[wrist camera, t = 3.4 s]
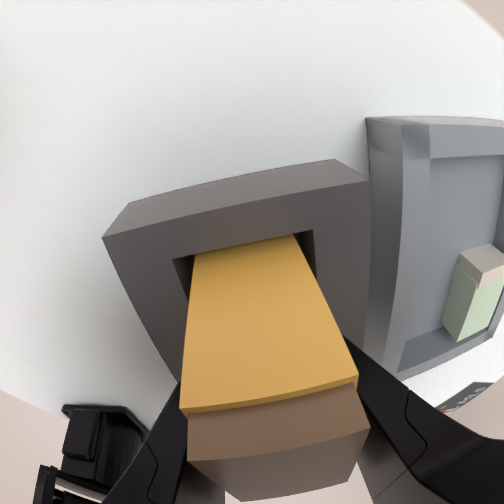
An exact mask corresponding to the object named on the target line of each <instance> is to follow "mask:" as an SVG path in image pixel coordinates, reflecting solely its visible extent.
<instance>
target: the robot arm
mask: <svg viewBox="0 0 504 504" xmlns="http://www.w3.org/2000/svg"><path fill="white" fill-rule="evenodd" d="M341 335H342V334H341ZM342 337H343V339H344V341H345V343H346V346H347V348H348V350H349V352H350V355H351V357H352V359H353V361H354V364H355V366H356V368H357V371H358V373H359V377H358V383H357V389H356V391H357V393H358V396H359V399H360V401H361V404H362V406H363V409H364V411H365V414H366V416H367V419H368V422H369V424H370V427H371V428H370V430H369V433H368V435H367V438H366V440H365V443H364V445H363V448H362V450H361V453H360V455H359V457H358V459H357V463H358V465H359V468H360V470H361V473H362V475H363V478H364V480H365V483H366V486H367V488H368V491H369V493H370V496H371V498H372V500H373V504H504V440H500V439H491V438H488V437H484V436H482V435H479V434H478V433H476V432H474V431H472V430H470V429H469V428H467V427H465V426H463V425H462V424H460V423H458V422H456V421H455V420H453V419H452V418H450V417H448V416H447V415H445V414H443V413H442V412H440V411H439V410H437V409H436V408H434V407H433V406H431V405H430V404H428V403H427V402H426V401H424V400H423V399H422V398H420V397H419V396H418V395H417V394H415V393H414V392H413V391H412V390H409V388H408V387H407V386H405V385H404V384H403V383H402V382H400V381H399V380H398V379H397V378H395V377H394V376H393V375H392V374H390V373H389V372H388V371H387V370H385V369H384V368H383V367H382V366H381V365H379V364H378V363H377V362H376V361H374V360H373V359H372V358H371V357H369V356H368V355H367V354H366V353H364V352H363V351H362V350H361V349H360V348H358V347H357V346H356V345H355V344H353V343H352V342H351V341H350V340H348V339H347V338H346V337H345V336H344V335H342ZM180 390H181V378H180V380H179V382H178V384H177V385H176V387H175V389H174V391H173V392H172V394H171V396H170V398H169V399H168V401H167V403H166V405H165V406H164V408H163V410H162V411H161V413H160V415H159V417H158V418H157V420H156V422H155V424H154V425H153V427H152V429H151V430H150V432H148V431H147V430H146V429H145V428H144V427H143V426H142V425H141V424H140V423H139V422H138V421H137V420H136V419H135V418H134V417H133V416H132V415H131V414H130V413H129V412H128V411H127V410H126V409H124V408H108V407H78V406H62V409H61V411H62V412H63V413H64V414H65V415H66V416H67V417H68V418H69V419H70V421H69V425H68V429H67V433H66V436H65V440H64V444H63V448H62V453H63V454H64V456H63V461H62V466H61V470H58V468H56V467H54V466H52V465H51V466H50V467H48V466H44V465H40V469H39V473H38V478H37V483H36V488H35V493H34V499H33V504H225V490H224V489H222V488H221V487H219V486H218V485H217V484H215V483H214V482H213V481H211V480H210V479H209V478H208V477H206V476H205V475H204V474H202V473H201V472H200V471H199V470H197V469H196V468H195V467H194V466H193V465H191V464H190V463H189V462H188V461H187V441H188V419H187V418H186V417H185V415H184V414H183V413H182V411H181V410H180V409H179V405H180ZM55 484H57V485H59V486H62V487H64V488H67V489H69V490H72V491H74V492H77V493H80V494H83V495H85V496H88V497H91V498H94V499H97V500H100V501H102V502H101V503H98V502H95V501H92V500H89V499H85V498H83V497H80V496H77V495H75V494H72V493H70V492H67V491H60V490H58V489H56V488H55Z"/></svg>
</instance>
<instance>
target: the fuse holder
mask: <svg viewBox="0 0 504 504" xmlns="http://www.w3.org/2000/svg"><path fill="white" fill-rule="evenodd" d="M288 234H293V235H294V237H295V239H296V241H297V243H298V245H299V247H300V249H301V251H302V253H303V255H304V257H305V259H306V261H307V263H308V265H309V267H310V269H311V271H312V273H313V275H314V277H315V279H316V281H317V283H318V285H319V288H320V290H321V292H322V294H323V296H324V298H325V300H326V302H327V304H328V306H329V309H330V311H331V313H332V315H333V317H334V319H335V321H336V324H337V326H338V328H339V330H340V332H341V334H342V335H344V336H345V337H346V338H347V339H348V340H350V341H351V342H352V343H353V344H355V345H356V346H357V347H358V348H360V349H361V350H363V342H364V334H365V325H366V316H367V305H368V292H369V277H370V256H371V182H370V180H369V179H368V178H366V177H364V176H363V175H361V174H359V173H358V172H356V171H354V170H353V169H351V168H349V167H348V166H346V165H344V164H342V163H341V162H339V161H337V160H335V159H331V160H324V161H318V162H311V163H305V164H299V165H293V166H287V167H281V168H276V169H270V170H265V171H260V172H255V173H250V174H245V175H240V176H235V177H230V178H226V179H221V180H217V181H212V182H208V183H204V184H199V185H195V186H191V187H187V188H183V189H179V190H175V191H171V192H167V193H163V194H160V195H156V196H152V197H148V198H145V199H141V200H138V201H134V202H131V203H129V204H128V205H127V206H126V207H125V208H124V210H123V211H122V212H121V213H120V215H119V216H118V217H117V218H116V220H115V221H114V222H113V223H112V225H111V226H110V227H109V229H108V230H107V231H106V233H105V234H104V235H103V237H102V239H103V242H104V244H105V246H106V249H107V251H108V253H109V256H110V258H111V260H112V262H113V265H114V267H115V269H116V271H117V273H118V276H119V278H120V280H121V282H122V284H123V286H124V288H125V290H126V292H127V294H128V296H129V298H130V300H131V302H132V304H133V306H134V308H135V310H136V312H137V314H138V316H139V318H140V319H141V321H142V323H143V325H144V327H145V329H146V330H147V332H148V334H149V336H150V338H151V339H152V341H153V343H154V345H155V346H156V348H157V350H158V351H159V353H160V355H161V357H162V358H163V360H164V362H165V363H166V365H167V366H168V368H169V370H170V371H171V373H172V374H173V376H174V378H175V379H176V381H177V382H179V380H180V378H181V377H182V366H183V355H184V344H185V334H186V325H187V316H188V307H189V299H190V291H191V283H192V275H193V268H194V261H195V254H198V253H202V252H207V251H212V250H216V249H221V248H226V247H231V246H235V245H240V244H245V243H250V242H254V241H259V240H264V239H269V238H274V237H278V236H283V235H288Z"/></svg>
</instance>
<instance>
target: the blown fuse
mask: <svg viewBox="0 0 504 504" xmlns="http://www.w3.org/2000/svg"><path fill="white" fill-rule="evenodd" d="M358 377H359V373H358V371H357V368H356V366H355V364H354V361H353V359H352V357H351V355H350V352H349V350H348V348H347V346H346V343H345V341H344V339H343V337H342V335H341V332H340V330H339V328H338V326H337V324H336V321H335V319H334V317H333V315H332V313H331V311H330V309H329V306H328V304H327V302H326V300H325V298H324V296H323V294H322V292H321V290H320V288H319V285H318V283H317V281H316V279H315V277H314V275H313V273H312V271H311V269H310V267H309V265H308V263H307V261H306V259H305V257H304V255H303V253H302V251H301V249H300V247H299V245H298V243H297V241H296V239H295V237H294V235H293V234H288V235H283V236H278V237H274V238H269V239H264V240H259V241H254V242H250V243H245V244H240V245H235V246H231V247H226V248H221V249H216V250H212V251H207V252H202V253H198V254H195V261H194V268H193V275H192V283H191V291H190V299H189V307H188V316H187V325H186V334H185V344H184V355H183V366H182V377H181V390H180V405H179V409H180V410H181V411H182V413H183V414H184V415H185V417H186V418H187V419H188V441H187V461H188V462H189V463H190V464H191V465H193V466H194V467H195V468H196V469H197V470H199V471H200V472H201V473H202V474H204V475H205V476H206V477H208V478H209V479H210V480H211V481H213V482H214V483H215V484H217V485H218V486H219V487H221V488H222V489H224V490H225V491H227V492H228V493H229V494H231V495H232V496H234V497H235V498H236V499H238V500H239V501H241V502H244V501H254V500H262V499H270V498H277V497H283V496H289V495H294V494H299V493H304V492H308V491H313V490H318V489H322V488H326V487H329V486H333V485H337V484H341V483H344V482H347V481H348V479H349V477H350V475H351V473H352V471H353V468H354V466H355V464H356V462H357V459H358V457H359V455H360V453H361V450H362V448H363V445H364V443H365V440H366V438H367V435H368V433H369V430H370V428H371V427H370V424H369V422H368V419H367V416H366V414H365V411H364V409H363V406H362V404H361V401H360V399H359V396H358V393H357V391H356V389H357V383H358Z"/></svg>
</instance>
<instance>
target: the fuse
mask: <svg viewBox="0 0 504 504" xmlns="http://www.w3.org/2000/svg"><path fill="white" fill-rule="evenodd" d="M503 286H504V254H503V253H502V252H500V251H499V250H498V249H497V248H495V247H494V246H493V245H492V244H490V243H488V244H485V245H482V246H479V247H476V248H473V249H470V250H467V251H464V252H460V253H459V258H458V263H457V264H456V267H455V271H454V275H453V280H452V284H451V288H450V292H449V295H448V299H447V303H446V306H445V309H444V313H443V316H442V319H441V323H442V324H443V325H444V326H445V328H446V329H447V330H448V332H449V333H450V334H451V336H452V337H453V338H454V340H455V341H456V342H458V341H460V340H462V339H464V338H466V337H468V336H470V335H472V334H474V333H476V332H478V331H480V330H482V329H484V328H485V327H487V326H488V324H489V322H490V320H491V317H492V315H493V312H494V310H495V307H496V305H497V302H498V300H499V297H500V294H501V291H502V288H503Z"/></svg>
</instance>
